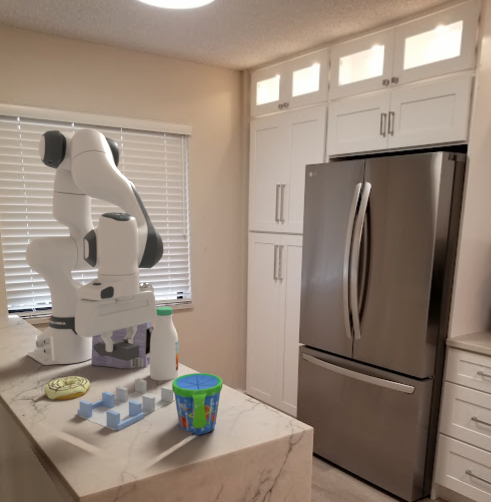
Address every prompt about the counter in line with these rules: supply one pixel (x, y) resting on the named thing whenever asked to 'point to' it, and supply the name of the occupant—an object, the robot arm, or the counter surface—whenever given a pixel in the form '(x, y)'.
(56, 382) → the decorated donut
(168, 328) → the milk bottle
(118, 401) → the pegged tray
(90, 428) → the counter surface
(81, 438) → the counter surface
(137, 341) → the cake pan box
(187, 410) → the snack cup
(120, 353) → the long gray rectangular prism
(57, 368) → the counter surface
